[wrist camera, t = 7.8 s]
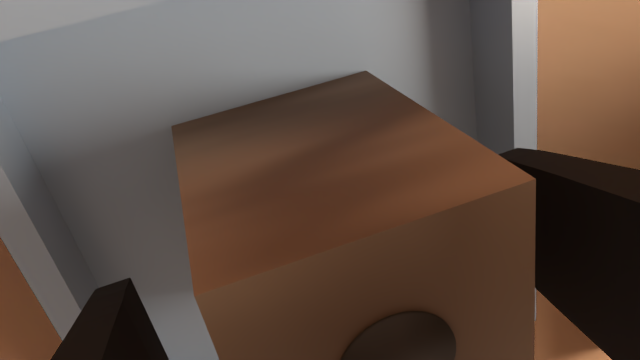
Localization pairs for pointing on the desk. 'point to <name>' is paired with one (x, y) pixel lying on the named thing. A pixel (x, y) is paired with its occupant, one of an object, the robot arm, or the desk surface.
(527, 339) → the block
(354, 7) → the tray
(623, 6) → the desk surface
